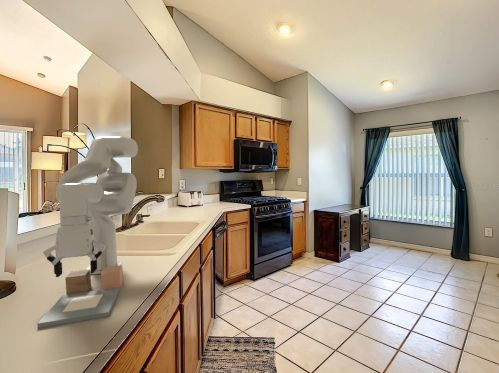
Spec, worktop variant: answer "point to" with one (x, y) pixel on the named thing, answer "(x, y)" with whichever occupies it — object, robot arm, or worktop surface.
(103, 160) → the robot arm
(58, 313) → the baseplate
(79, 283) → the walnut block
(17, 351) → the worktop surface
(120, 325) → the worktop surface
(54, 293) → the worktop surface
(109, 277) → the terracotta block
